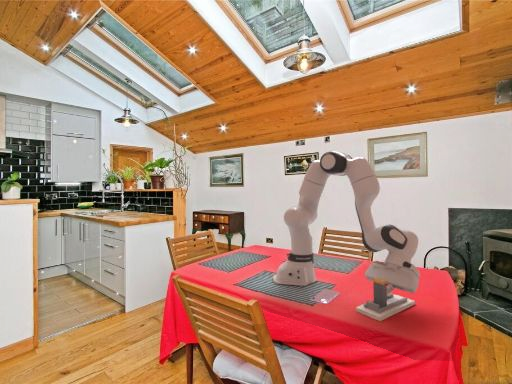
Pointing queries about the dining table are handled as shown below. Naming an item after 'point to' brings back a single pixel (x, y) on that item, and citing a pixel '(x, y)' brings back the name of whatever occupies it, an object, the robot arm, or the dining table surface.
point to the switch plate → (385, 307)
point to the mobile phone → (325, 296)
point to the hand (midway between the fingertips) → (382, 294)
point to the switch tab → (380, 291)
